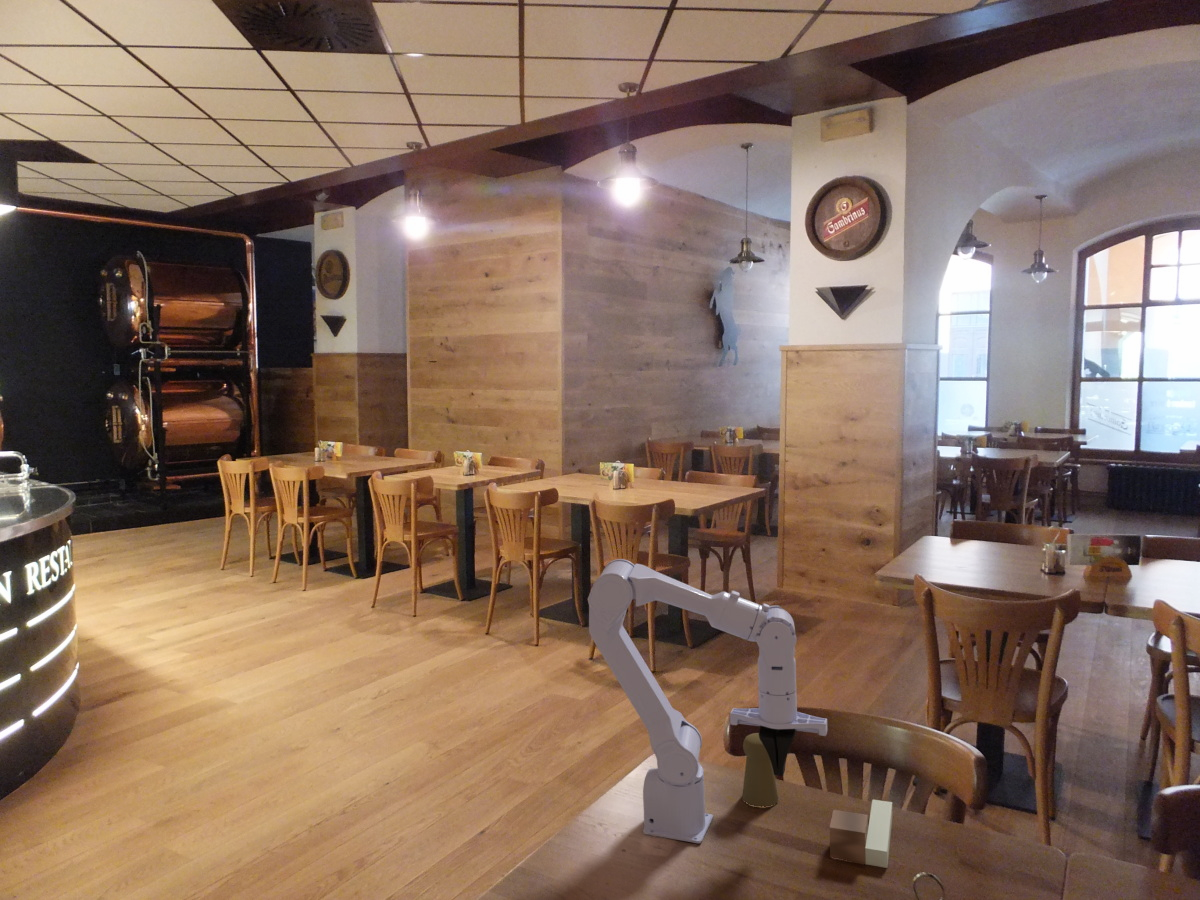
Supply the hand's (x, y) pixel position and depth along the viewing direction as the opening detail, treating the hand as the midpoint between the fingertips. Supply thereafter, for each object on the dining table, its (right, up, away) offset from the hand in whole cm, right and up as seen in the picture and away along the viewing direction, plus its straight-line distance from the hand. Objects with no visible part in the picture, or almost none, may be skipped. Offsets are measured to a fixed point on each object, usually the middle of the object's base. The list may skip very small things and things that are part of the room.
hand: (779, 772), depth 131 cm
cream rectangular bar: (+15, -10, -2) cm, 18 cm away
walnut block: (+10, -10, -5) cm, 15 cm away
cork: (-1, -9, +11) cm, 14 cm away
